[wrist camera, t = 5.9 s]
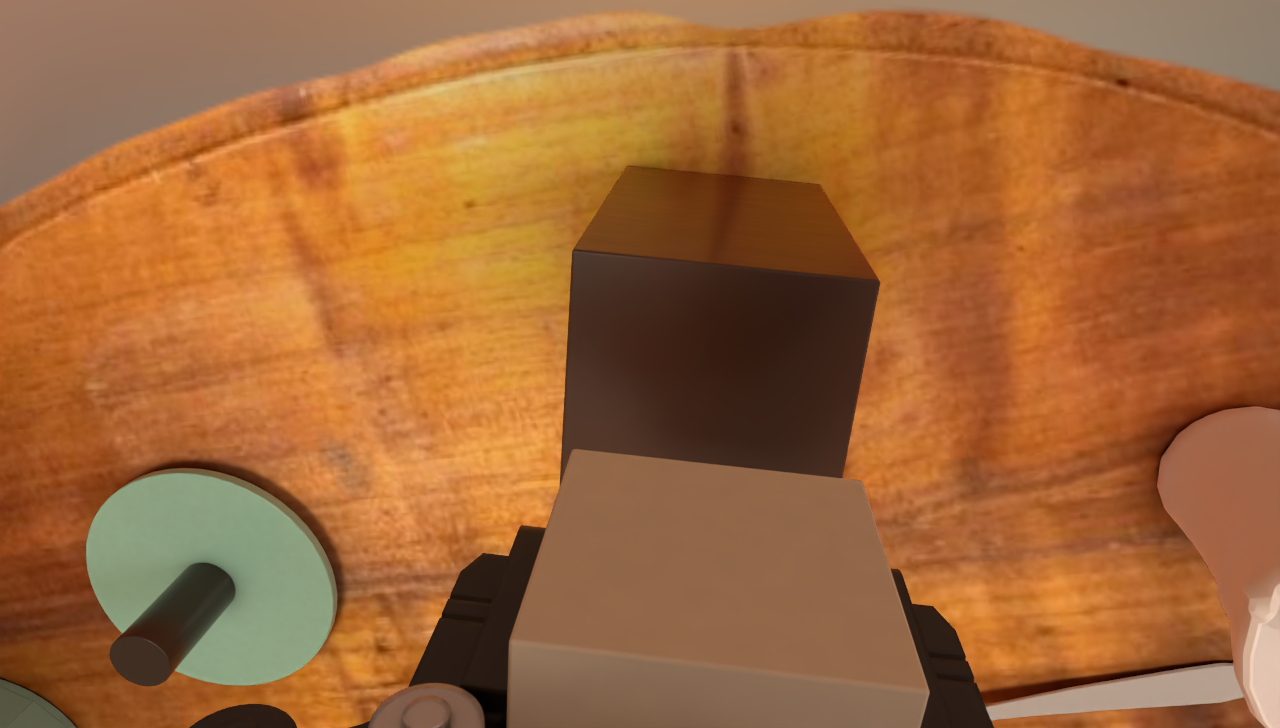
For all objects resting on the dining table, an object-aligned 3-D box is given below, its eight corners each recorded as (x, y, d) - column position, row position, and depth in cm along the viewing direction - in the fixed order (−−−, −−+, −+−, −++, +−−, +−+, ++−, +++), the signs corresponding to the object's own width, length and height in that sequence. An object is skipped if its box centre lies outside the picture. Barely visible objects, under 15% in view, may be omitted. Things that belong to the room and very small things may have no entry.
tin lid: (121, 653, 41) (28, 752, 35) (83, 446, 36) (-29, 521, 31) (349, 683, 40) (290, 787, 35) (337, 476, 36) (268, 557, 30)
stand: (612, 346, 33) (557, 512, 22) (626, 165, 30) (571, 249, 19) (791, 365, 32) (829, 544, 21) (820, 184, 30) (880, 280, 19)
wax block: (558, 674, 15) (499, 925, 11) (572, 447, 13) (507, 641, 9) (817, 706, 15) (856, 974, 10) (863, 478, 13) (931, 691, 9)
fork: (1263, 706, 36) (1288, 738, 35) (693, 747, 40) (692, 778, 38) (1269, 644, 35) (1296, 675, 33) (682, 692, 39) (680, 722, 37)
